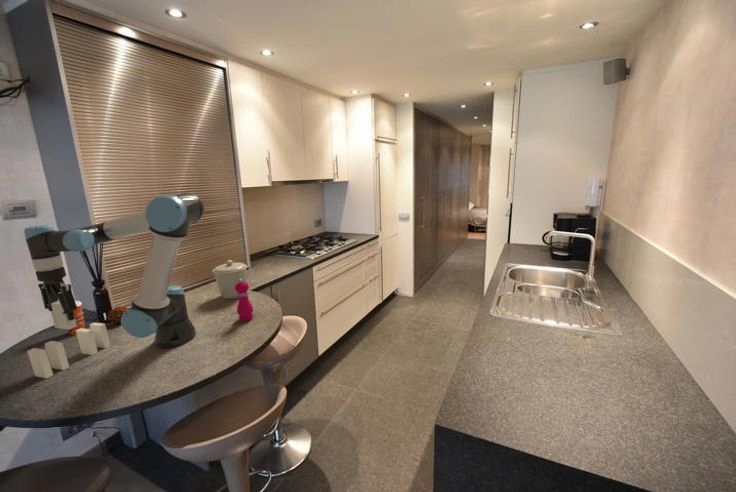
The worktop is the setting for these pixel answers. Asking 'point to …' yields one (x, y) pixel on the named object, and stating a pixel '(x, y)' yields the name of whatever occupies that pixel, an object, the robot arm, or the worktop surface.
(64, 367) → the domino
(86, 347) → the domino
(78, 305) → the paper cup
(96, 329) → the domino
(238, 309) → the pepper mill
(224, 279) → the canister
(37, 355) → the domino
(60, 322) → the domino
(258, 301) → the worktop surface
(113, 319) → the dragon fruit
